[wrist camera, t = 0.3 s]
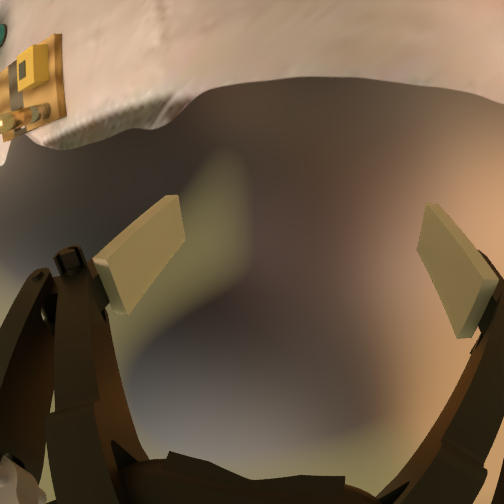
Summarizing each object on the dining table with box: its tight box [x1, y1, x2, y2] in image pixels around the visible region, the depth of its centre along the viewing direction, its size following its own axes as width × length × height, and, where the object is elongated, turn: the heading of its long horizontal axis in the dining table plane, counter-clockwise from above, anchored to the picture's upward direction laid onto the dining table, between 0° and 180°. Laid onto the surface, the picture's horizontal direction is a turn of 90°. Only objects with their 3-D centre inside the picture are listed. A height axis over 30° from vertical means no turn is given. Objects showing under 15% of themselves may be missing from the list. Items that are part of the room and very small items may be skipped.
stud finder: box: [17, 44, 49, 92], centre depth 33 cm, size 8×6×4 cm
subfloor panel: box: [0, 34, 66, 142], centre depth 38 cm, size 18×24×2 cm
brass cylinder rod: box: [0, 103, 51, 134], centre depth 34 cm, size 3×3×12 cm
